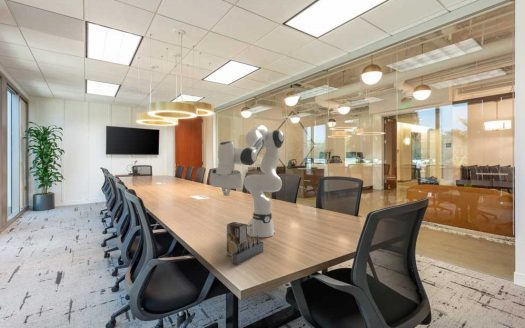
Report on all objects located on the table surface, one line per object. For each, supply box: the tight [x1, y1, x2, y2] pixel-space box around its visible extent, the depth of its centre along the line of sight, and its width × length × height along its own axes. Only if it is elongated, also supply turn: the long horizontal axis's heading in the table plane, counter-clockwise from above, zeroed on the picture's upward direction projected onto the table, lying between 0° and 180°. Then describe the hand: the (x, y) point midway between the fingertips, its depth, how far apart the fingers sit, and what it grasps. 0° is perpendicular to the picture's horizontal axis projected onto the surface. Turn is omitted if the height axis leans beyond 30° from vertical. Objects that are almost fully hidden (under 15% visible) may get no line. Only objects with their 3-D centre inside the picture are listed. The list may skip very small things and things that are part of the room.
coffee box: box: [226, 221, 248, 257], centre depth 133 cm, size 9×6×16 cm
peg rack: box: [231, 235, 264, 266], centre depth 130 cm, size 3×22×9 cm, turn 146°
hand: (226, 195), depth 143 cm, fingers closed
